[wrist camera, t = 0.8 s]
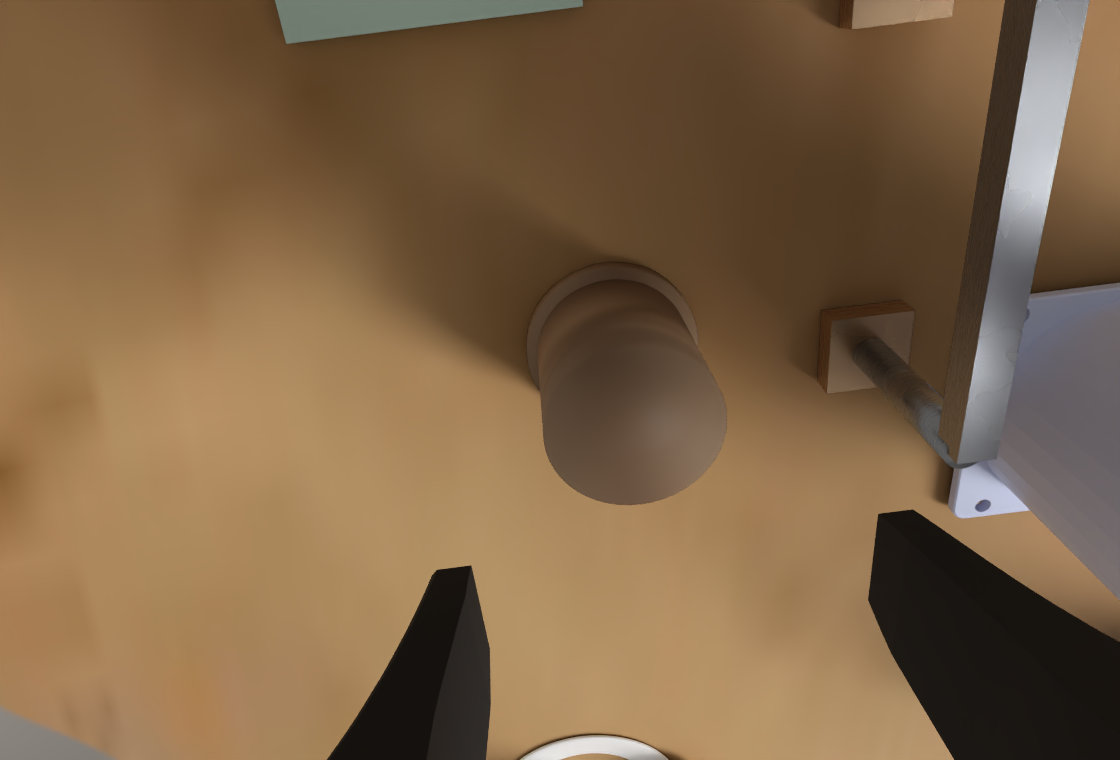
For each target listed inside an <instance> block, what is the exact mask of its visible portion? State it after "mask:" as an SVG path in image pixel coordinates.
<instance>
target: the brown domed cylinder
mask: <svg viewBox="0 0 1120 760" xmlns="http://www.w3.org/2000/svg"><path fill="white" fill-rule="evenodd" d="M527 359H528V365H529V370H530V373H531V376H532V378H533V381H534V383H535V384H536V386H537V388H538V390H539V391H540V396H541V409H542V423H543V437H544V445H545V449H546V453H547V456H548V458H549V461H550V463H551V464H552V466H553V468H554V470H555V471H556V472H557V474H558V475H559V476H560V477H561V478H562V479H563V480H564V481H565V482H566V483H567V484H568V485H569V486H570V487H572V488H573V489H575V490H576V491H577V492H579V493H581V494H583V495H585V496H587V497H589V498H592V499H595V500H597V501H601V502H605V503H610V504H617V505H637V504H645V503H651V502H655V501H658V500H662V499H664V498H667V497H669V496H672V495H674V494H676V493H678V492H680V491H682V490H684V489H685V488H687V487H688V486H689V485H691V484H692V483H694V482H695V481H696V480H697V479H698V478H700V477H701V476H702V475H703V474H704V473H705V471H706V470H707V469H708V468H709V467H710V466H711V464H712V463H713V461H714V460H715V459H716V457H717V455H718V453H719V451H720V449H721V447H722V444H723V441H724V438H725V433H726V428H727V412H726V406H725V402H724V398H723V396H722V393H721V391H720V389H719V387H718V385H717V383H716V381H715V379H714V377H713V375H712V373H711V371H710V369H709V368H708V366H707V364H706V362H705V360H704V358H703V356H702V354H701V352H700V350H699V348H698V332H697V327H696V323H695V319H694V317H693V315H692V312H691V310H690V308H689V306H688V305H687V303H686V301H685V300H684V298H683V296H682V295H681V293H680V292H679V291H678V290H677V288H676V287H675V286H674V285H673V284H672V283H671V282H669V281H668V280H667V279H666V278H664V277H663V276H661V275H660V274H659V273H657V272H655V271H653V270H651V269H649V268H646V267H643V266H640V265H636V264H631V263H624V262H606V263H599V264H594V265H590V266H587V267H584V268H581V269H579V270H577V271H574V272H572V273H570V274H569V275H567V276H566V277H564V278H562V279H561V280H560V281H558V282H557V283H556V284H555V285H553V286H552V287H551V288H550V289H549V290H548V292H547V293H546V294H545V295H544V296H543V298H542V299H541V300H540V302H539V303H538V305H537V307H536V309H535V310H534V312H533V315H532V317H531V320H530V323H529V327H528V332H527Z"/></svg>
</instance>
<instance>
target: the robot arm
mask: <svg viewBox="0 0 1120 760" xmlns="http://www.w3.org/2000/svg"><path fill="white" fill-rule="evenodd" d="M981 500H983V501H982V502H981V503H979V504H977V503H978V502H979V501H981ZM948 507H949V509H950V510H951V511H952V513H953V514H954V515H955V516H956V517H958V518H972V517H980V516H988V515H996V514H1004V513H1012V512H1020V511H1028V510H1030V511H1031V512H1032V513H1033V514H1034V515H1035V516H1036V517H1037V518H1038V519H1039V520H1040V521H1041V522H1042V523H1043V524H1044V525H1045V526H1046V527H1047V528H1048V529H1049V530H1050V531H1051V532H1052V533H1053V534H1054V535H1055V536H1056V537H1057V538H1058V539H1059V540H1060V541H1061V542H1062V543H1063V544H1064V545H1065V546H1066V547H1067V548H1068V549H1069V550H1070V551H1071V552H1072V553H1073V554H1074V555H1075V556H1076V557H1077V558H1078V559H1079V560H1080V561H1081V562H1082V563H1083V564H1084V565H1085V566H1086V567H1087V568H1088V569H1089V570H1090V571H1091V572H1092V573H1093V574H1094V575H1095V576H1096V577H1097V578H1098V579H1099V580H1100V581H1101V582H1102V583H1103V584H1104V585H1105V586H1106V587H1107V588H1108V589H1109V590H1110V591H1111V592H1112V593H1113V594H1114V595H1115V596H1116V597H1117V598H1118V599H1119V600H1120V283H1113V284H1105V285H1097V286H1089V287H1081V288H1073V289H1065V290H1057V291H1049V292H1041V293H1034V294H1030V296H1029V301H1028V306H1027V311H1026V316H1025V321H1024V326H1023V331H1022V336H1021V340H1020V345H1019V350H1018V355H1017V360H1016V365H1015V370H1014V375H1013V380H1012V385H1011V390H1010V395H1009V400H1008V405H1007V410H1006V415H1005V419H1004V424H1003V429H1002V434H1001V439H1000V444H999V449H998V454H997V459H995V460H987V461H979V462H977V463H976V464H974V465H972V466H970V467H967V468H963V469H957V468H954V472H953V478H952V484H951V490H950V496H949V501H948ZM868 601H869V603H870V605H871V608H872V610H873V613H874V615H875V617H876V620H877V622H878V625H879V627H880V629H881V632H882V634H883V636H884V638H885V640H886V643H887V645H888V647H889V649H890V651H891V654H892V655H893V657H894V659H895V661H896V662H897V664H898V666H899V668H900V669H901V671H902V673H903V674H904V676H905V678H906V679H907V681H908V683H909V685H910V686H911V688H912V690H913V691H914V693H915V695H916V696H917V698H918V700H919V702H920V703H921V705H922V707H923V708H924V710H925V712H926V713H927V715H928V717H929V718H930V720H931V722H932V723H933V725H934V727H935V728H936V730H937V732H938V733H939V735H940V737H941V738H942V740H943V742H944V743H945V745H946V747H947V748H948V750H949V752H950V753H951V755H952V757H953V758H954V760H1120V642H1118V641H1116V640H1114V639H1113V638H1111V637H1109V636H1107V635H1105V634H1104V633H1102V632H1100V631H1098V630H1097V629H1095V628H1093V627H1091V626H1090V625H1088V624H1086V623H1085V622H1083V621H1081V620H1080V619H1078V618H1076V617H1075V616H1073V615H1071V614H1070V613H1068V612H1066V611H1065V610H1063V609H1061V608H1060V607H1058V606H1056V605H1055V604H1053V603H1051V602H1050V601H1048V600H1047V599H1045V598H1043V597H1042V596H1040V595H1039V594H1037V593H1035V592H1034V591H1032V590H1031V589H1029V588H1028V587H1026V586H1025V585H1023V584H1022V583H1020V582H1018V581H1017V580H1015V579H1014V578H1012V577H1011V576H1009V575H1008V574H1006V573H1005V572H1003V571H1002V570H1000V569H999V568H997V567H996V566H994V565H993V564H992V563H990V562H989V561H987V560H986V559H984V558H983V557H981V556H980V555H978V554H977V553H975V552H974V551H973V550H971V549H970V548H968V547H967V546H965V545H964V544H962V543H961V542H960V541H958V540H957V539H955V538H954V537H952V536H951V535H950V534H948V533H947V532H945V531H944V530H942V529H941V528H939V527H938V526H937V525H935V524H934V523H932V522H931V521H929V520H928V519H926V518H925V517H923V516H922V515H920V514H919V513H917V512H916V511H914V510H906V511H898V512H890V513H882V514H878V521H877V529H876V538H875V546H874V555H873V564H872V572H871V581H870V589H869V598H868ZM490 706H491V698H490V648H489V643H488V639H487V634H486V630H485V625H484V621H483V616H482V612H481V607H480V603H479V598H478V594H477V589H476V585H475V580H474V576H473V571H472V567H471V566H464V567H456V568H448V569H441V570H437V571H436V572H435V573H434V574H433V575H432V577H431V579H430V581H429V584H428V586H427V589H426V591H425V593H424V595H423V598H422V600H421V602H420V604H419V606H418V608H417V610H416V613H415V615H414V617H413V619H412V621H411V623H410V625H409V627H408V629H407V631H406V633H405V635H404V636H403V638H402V640H401V642H400V644H399V646H398V648H397V649H396V651H395V653H394V655H393V657H392V659H391V660H390V662H389V664H388V666H387V668H386V670H385V671H384V673H383V675H382V676H381V678H380V680H379V681H378V683H377V685H376V686H375V688H374V690H373V691H372V693H371V694H370V696H369V698H368V699H367V701H366V703H365V704H364V706H363V707H362V709H361V711H360V712H359V714H358V715H357V717H356V719H355V720H354V722H353V723H352V725H351V726H350V728H349V729H348V731H347V732H346V734H345V735H344V736H343V738H342V739H341V741H340V742H339V744H338V745H337V746H336V748H335V749H334V751H333V752H332V753H331V755H330V756H329V757H328V759H327V760H486V752H487V740H488V729H489V718H490Z"/></svg>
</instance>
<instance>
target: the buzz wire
mask: <svg viewBox="0 0 1120 760" xmlns="http://www.w3.org/2000/svg"><path fill="white" fill-rule="evenodd" d="M953 4H954V0H840V14H839V28H844V29H859V28H867V27H875V26H883V25H891V24H899V23H907V22H915V21H923V20H930V19H938V18H946V17H952V12H953ZM1088 5H1089V0H1005V4H1004V11H1003V17H1002V24H1001V30H1000V37H999V43H998V50H997V56H996V63H995V69H994V76H993V82H992V89H991V95H990V102H989V108H988V114H987V121H986V127H985V134H984V140H983V147H982V153H981V160H980V166H979V173H978V179H977V186H976V192H975V199H974V205H973V212H972V218H971V224H970V231H969V237H968V244H967V250H966V257H965V263H964V270H963V276H962V283H961V289H960V296H959V302H958V309H957V315H956V322H955V328H954V335H953V341H952V347H951V354H950V360H949V367H948V373H947V380H946V386H945V393H944V398H943V397H942V396H941V395H940V394H938V393H937V392H936V391H935V390H934V389H933V388H932V387H931V386H930V385H929V384H928V383H927V382H926V381H925V380H924V379H923V378H922V377H921V376H919V375H918V374H917V373H916V372H915V371H914V370H913V369H912V368H911V367H910V366H909V365H908V364H909V356H910V348H911V340H912V332H913V324H914V316H915V310H914V309H912V308H911V307H910V306H909V305H907V304H906V303H905V302H904V301H902V300H900V301H892V302H884V303H876V304H868V305H860V306H852V307H844V308H837V309H829V310H822V311H821V328H820V345H819V361H818V378H817V382H818V383H819V384H820V385H821V387H822V388H823V389H824V391H825V392H826V393H827V394H829V393H837V392H845V391H853V390H861V389H869V388H878V389H879V390H880V391H881V392H882V393H883V394H884V396H885V397H886V398H887V399H888V400H889V401H890V402H891V403H892V404H893V405H894V406H895V408H896V409H897V410H898V411H899V412H900V413H901V414H902V415H903V416H904V417H905V418H906V420H907V421H908V422H909V423H910V424H911V425H912V426H913V427H914V428H915V429H916V430H917V431H918V433H919V434H920V435H921V436H922V437H923V438H924V439H925V440H926V441H927V442H928V443H929V445H930V446H931V447H932V448H933V449H934V450H935V451H936V452H937V453H938V454H939V455H940V457H941V458H942V459H943V460H944V461H945V462H946V463H947V464H948V465H949V466H950V467H953V468H957V469H963V468H967V467H970V466H972V465H974V464H976V463H977V462H979V461H987V460H995V459H997V454H998V449H999V444H1000V439H1001V434H1002V429H1003V424H1004V419H1005V415H1006V410H1007V405H1008V400H1009V395H1010V390H1011V385H1012V380H1013V375H1014V370H1015V365H1016V360H1017V355H1018V350H1019V345H1020V340H1021V336H1022V331H1023V326H1024V321H1025V316H1026V311H1027V306H1028V301H1029V296H1030V291H1031V286H1032V281H1033V276H1034V271H1035V266H1036V261H1037V257H1038V252H1039V247H1040V242H1041V237H1042V232H1043V227H1044V222H1045V217H1046V212H1047V207H1048V202H1049V197H1050V192H1051V187H1052V182H1053V178H1054V173H1055V168H1056V163H1057V158H1058V153H1059V148H1060V143H1061V138H1062V133H1063V128H1064V123H1065V118H1066V113H1067V108H1068V103H1069V99H1070V94H1071V89H1072V84H1073V79H1074V74H1075V69H1076V64H1077V59H1078V54H1079V49H1080V44H1081V39H1082V34H1083V29H1084V24H1085V20H1086V15H1087V10H1088Z"/></svg>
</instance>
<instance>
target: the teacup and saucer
mask: <svg viewBox="0 0 1120 760" xmlns="http://www.w3.org/2000/svg"><path fill="white" fill-rule="evenodd" d="M587 753H604V754H612V755H617V756H620V757H624V758H626V759H629V760H668V759H667V758H666V757H665V756H664V755H663V754H662V753H660V752H659V751H657V750H656V749H654V748H652V747H651V746H648V745H646V744H644V743H641V742H639V741H635V740H632V739H628V738H623V737H617V736H607V735H590V736H579V737H573V738H568V739H563V740H559V741H556V742H553V743H550V744H547V745H545V746H542V747H540V748H538V749H536V750H534V751H532V752H530V753H529V754H527V755H526V756H524V757H523V758H521V759H520V760H560V759H563V758H566V757H570V756H574V755H579V754H587Z"/></svg>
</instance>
